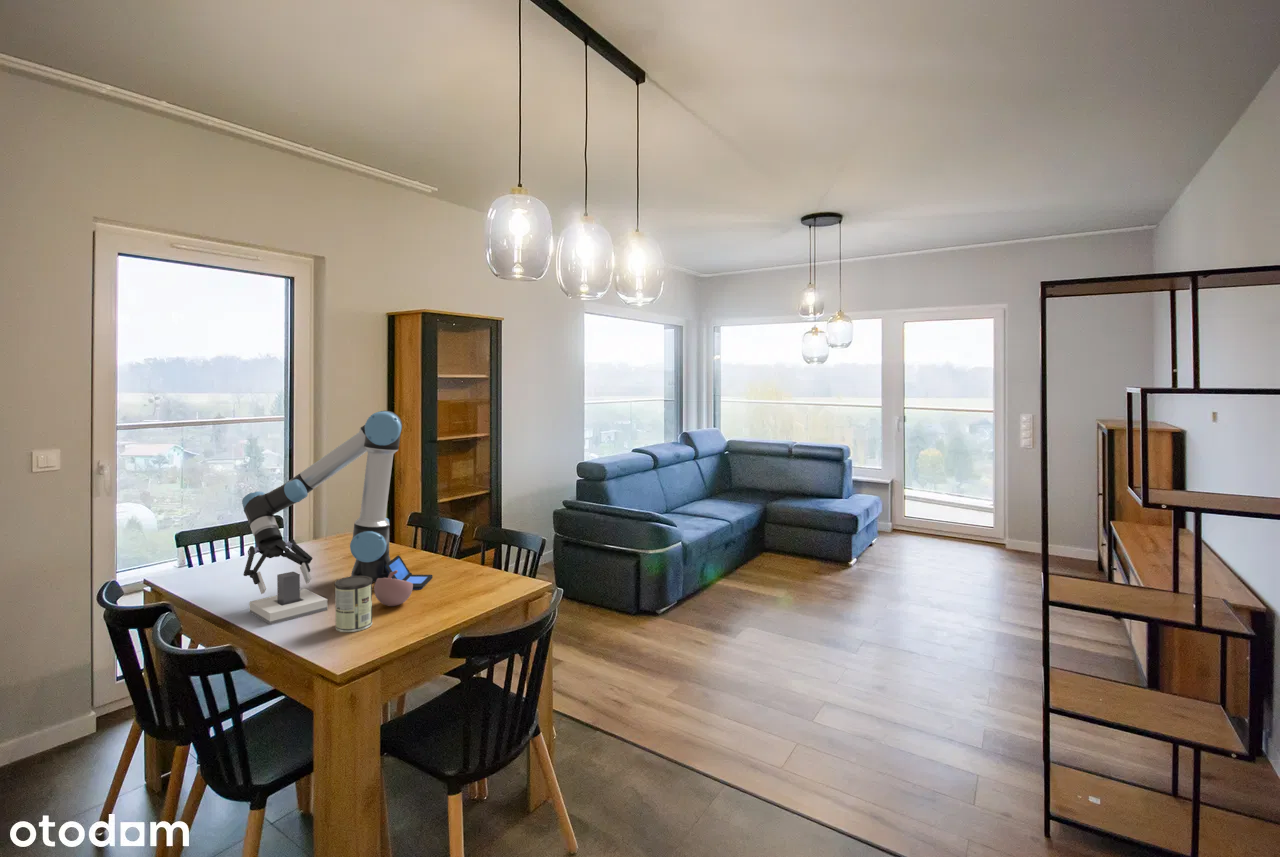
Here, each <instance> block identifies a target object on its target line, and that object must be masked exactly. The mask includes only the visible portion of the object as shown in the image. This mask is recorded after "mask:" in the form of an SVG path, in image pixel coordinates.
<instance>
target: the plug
mask: <svg viewBox="0 0 1280 857" xmlns="http://www.w3.org/2000/svg"><path fill="white" fill-rule="evenodd" d="M300 579H301V575H300V573H297V572H295V571H290V572H284V573H280V574H277V578H276V580H277V581H276V583H277V585H276V586H277V595H278V604H280V605H287V604H291V603H295V602H299V601H300V590H301V583H300V582H301V580H300Z"/></svg>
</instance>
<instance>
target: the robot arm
mask: <svg viewBox="0 0 1280 857" xmlns="http://www.w3.org/2000/svg"><path fill="white" fill-rule="evenodd" d="M402 429H403V421H402V419H401V418H400V416H399V415H398V414H396V413H395V412H394V411H390V410H381V411H377V412H374V413H372V414H371V415H370V416H369V417H368V419H366V421H365V424H364V425H362V426H361V427H359V431H358V432H357V433H356V434H353V435H352V436H351V437H350V438H349V439H347V440H346V441H344V442H342V443H341V444H340V445H338V446H337V447H335V448H334V449H333V450H331V451H330V452H328V453H326V455H324V456H323V457H321V458H320V459H318V460H317V461H315V462H314V463H313V464H311V465H310V466H308V467H307V468H306V469H303V470H302V471H300V473H299V474H297V475H296V476H294V477H292V478H291V479H289V480H288V481H287V482H285V483H283V484H282V485H280V486H278V487H276V488H274V489H272V490H271V491H269V492H266V493H265V492H264V491H260V490H259V491H257V490H256V491H254V492H249V493H247V494H246V495H245V496H243V497H242V500H241V505H242V508H243V512H244V514H245V517H246V520H247V522H248V525H249V527H250V530H251V533H252V535H253V537H254V541H255V544H256V546H253V545H250V546H249V548H248V550H247V555H248V557H247V561H246V564H245V567H244V572H243V574H242V575H243V576H244V577H247V576H249V578H251V579H252V582H253V584H254V585H257V586H258V589H259V592H260V594H261V595H263V594H265V592H266V591H267V588H266V584H265V581H264V579H263V576H262V573H261V571H259V569H260V568H261V566H262V565H263V563H264V561H265V560H266V558H267V559H272V558H279V557H283V558H286V559H288V560H290V561H293V563H296V564H297V565H300V566H299V569H300V572H301V574H302V576H303V579H304V581H305V583H306V585H308V584H309V583H310V582H311V580H312V577H311V575H310V572H311V567H310V565H309V564H310V563H311V562H312V560H313V557H312V555H310V554H309V553H308V552H307V551H305V550H304V549H303V548H302V547H301V546H300V545H298V544H297V543H296V542H297V541H296V540H295V539H293V538H291V539H290V541H284V538H283V536H282V533H281V530H280V529H279V525H278V523H277V520H276V517H275V514H277V513H280V512H281V511H283V510H284V509H287V508H289V507H291V506H292V505H295V504H297V503H300V502H301V501H303V500H304V499H306V498H307V497H308V494H309V493H311V492H312V491H313V490H315V489H316V488H318V487H319V486H320V485H322V484H323V483H324V482H326V481H327V480H329V479H330V478H331V477H333V476H334V475H336V474H337V473H339V472H340V471H342V470H344V468H346V467H347V466H349V465H351V463H353V462H354V461H356V460H357V459H359V458H360V457H361V456H363V455H364V454H366V453H367V455H366V456H367V457H366V465H365V474H364V482H363V487H362V488H363V490H362V495H361V496H362V497H361V504H360V505H361V507H360V513H359V518H357V519H356V520H355V521H354V525H353V531H352V539H351V541H350V542H349V543H350V544H349V549H350V553H351V555H352V556H353V558H355V561H354V565H353V568H352V569H351V570H352V571H351V575H350V577H352V576H368V577H371V578H372V583H376V580H377V579H378V578H388V576H389V573H388V571H387V570H386V568H385V565H386V564H387V563H388V562H390V561H391V560H392V559H391V557H390V526H391V525H390V519H389V518H387V509H388V501H389V494H390V484H391V477H392V468H393V460H394V455H395V453H396V452H398V451H399V447H400V442H401V433H402ZM256 553H259V554H260V555H261V557H259V559H258V561H257V562H256V564H255V566H254V568H253V569H252V564H253V560H254V557H255V555H256Z"/></svg>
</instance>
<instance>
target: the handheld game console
mask: <svg viewBox="0 0 1280 857" xmlns="http://www.w3.org/2000/svg"><path fill="white" fill-rule="evenodd" d="M390 560H391V561H390V562H388V563H387V564H386V565H385V568H386V570H387V571H388V573H389V574H390V572H393V571H395V570H397V571H398V572H397V573H396V574H394V575H393V576H392V579H399V580H404V581H407V582H411V583H413V589H412V591H413V590H416V591H417V590H422V589H424V587H425V586H426V585H427V584H428V583H430V581H431V580H432V579H433V576H434V575H432V574H413V573H412V572H410V570H409V568H408V567H407V566H406V563H405V561H404V560H403V558H402V557H401V556H400V555H399V554H398V555H396V556H395V557H394V558H393V559H390Z"/></svg>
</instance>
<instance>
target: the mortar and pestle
mask: <svg viewBox="0 0 1280 857" xmlns="http://www.w3.org/2000/svg"><path fill="white" fill-rule="evenodd" d="M397 572H398V571H397V570H395V571H393V572H390V574H389V576H388V578H378V579H377V580H376V582H374V587H373V588H374V590H373V591H374V595H375V598H376V599H377V600H378V602H380V603H381V604H382V605H384V606H388V607H396V606H399V605H402V604H404V603H405V602H406V601H407V600H409V598H410V597H411V594H412V592H413V590H412V589H413V583H411V582H407V581H404V580H399V579H392V576H393V575H394V574H396V573H397Z"/></svg>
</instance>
